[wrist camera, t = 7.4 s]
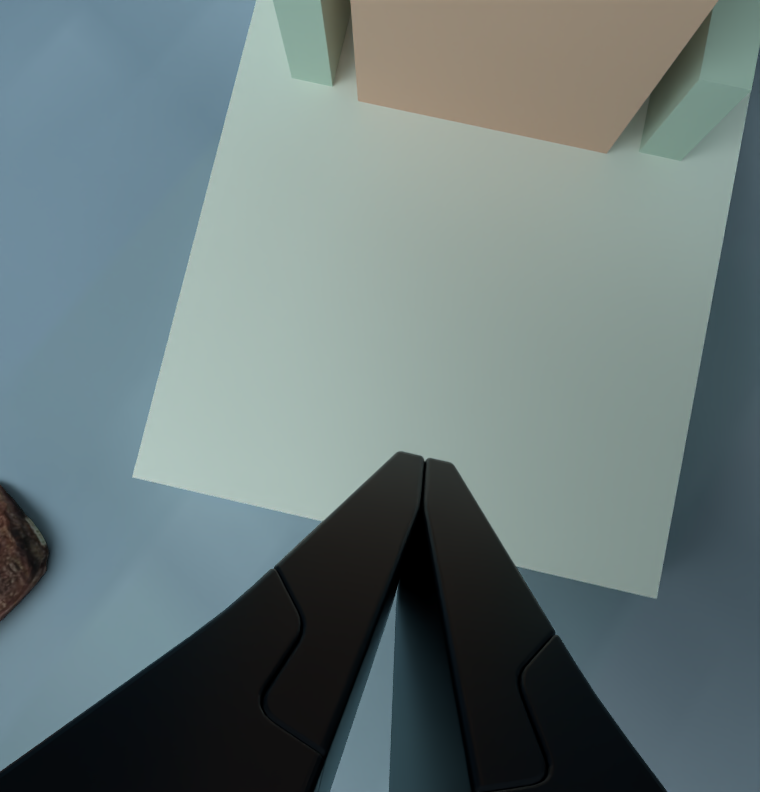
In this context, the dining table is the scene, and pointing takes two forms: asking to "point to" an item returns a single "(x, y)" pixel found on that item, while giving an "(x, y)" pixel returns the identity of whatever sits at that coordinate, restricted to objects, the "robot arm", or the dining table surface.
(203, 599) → the dining table surface
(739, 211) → the dining table surface
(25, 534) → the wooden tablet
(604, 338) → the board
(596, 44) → the beige cardboard box
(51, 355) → the dining table surface
